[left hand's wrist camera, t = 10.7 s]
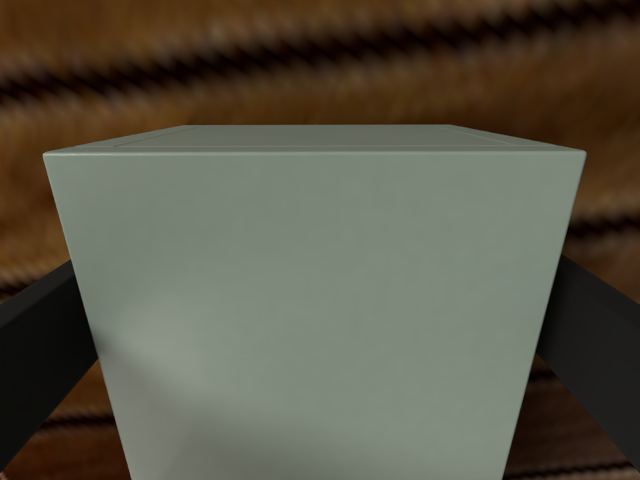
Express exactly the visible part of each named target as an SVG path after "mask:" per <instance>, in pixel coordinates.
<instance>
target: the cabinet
mask: <svg viewBox="0 0 640 480" xmlns="http://www.w3.org/2000/svg"><path fill="white" fill-rule="evenodd" d="M586 156H587V153H586V152H585V151H583V150H578V149H573V148H568V147H563V146H556V145H553V144H548V143H543V142H537V141H532V140H527V139H522V138H517V137H511V136H506V135H501V134H496V133H491V132H485V131H480V130H475V129H470V128H465V127H459V126H454V125H183V126H178V127H172V128H167V129H162V130H157V131H151V132H146V133H141V134H136V135H131V136H126V137H120V138H115V139H110V140H105V141H100V142H94V143H89V144H84V145H79V146H75V147H69V148H64V149H59V150H54V151H48V152H45V153H44V154H43V159H44V163H45V166H46V170H47V173H48V177H49V181H50V184H51V188H52V192H53V195H54V199H55V202H56V206H57V210H58V213H59V217H60V221H61V224H62V228H63V231H64V235H65V239H66V242H67V246H68V250H69V253H70V257H71V261H72V264H73V268H74V271H75V275H76V279H77V282H78V286H79V290H80V293H81V297H82V300H83V304H84V308H85V311H86V315H87V319H88V322H89V326H90V329H91V333H92V337H93V340H94V344H95V348H96V351H97V355H98V359H99V362H100V366H101V369H102V373H103V377H104V380H105V384H106V388H107V391H108V395H109V398H110V402H111V406H112V409H113V413H114V417H115V420H116V424H117V427H118V431H119V435H120V438H121V442H122V446H123V449H124V453H125V457H126V460H127V464H128V467H129V471H130V475H131V478H132V480H502V478H503V474H504V470H505V466H506V462H507V458H508V455H509V451H510V447H511V443H512V439H513V436H514V432H515V428H516V424H517V420H518V416H519V413H520V409H521V405H522V401H523V397H524V393H525V390H526V386H527V382H528V378H529V374H530V370H531V367H532V363H533V359H534V355H535V351H536V347H537V344H538V340H539V336H540V332H541V328H542V324H543V321H544V317H545V313H546V309H547V305H548V301H549V298H550V294H551V290H552V286H553V282H554V278H555V275H556V271H557V267H558V263H559V259H560V255H561V252H562V248H563V244H564V240H565V236H566V232H567V229H568V225H569V221H570V217H571V213H572V209H573V206H574V202H575V198H576V194H577V190H578V186H579V183H580V179H581V175H582V171H583V167H584V163H585V160H586Z"/></svg>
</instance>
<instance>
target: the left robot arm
mask: <svg viewBox="0 0 640 480" xmlns="http://www.w3.org/2000/svg"><path fill="white" fill-rule="evenodd" d="M536 352H537V353H538V355H539V356H540V357H541V358H542V359H543V360H544V362H545V363H546V364H547V365H548V366H549V367H550V369H551V370H552V371H553V372H554V373H555V374H556V376H557V377H558V378H559V379H560V380H561V381H562V383H563V384H564V385H565V386H566V387H567V389H568V390H569V391H570V392H571V393H572V394H573V396H574V397H575V398H576V399H577V400H578V401H579V403H580V404H581V405H582V406H583V407H584V408H585V410H586V411H587V412H588V413H589V414H590V415H591V417H592V418H593V419H594V420H595V421H596V422H597V424H598V425H599V426H600V427H601V428H602V429H603V431H604V432H605V433H606V434H607V435H608V436H609V438H610V439H611V440H612V441H613V442H614V444H615V445H616V446H617V447H618V448H619V449H620V451H621V452H622V453H623V454H624V455H625V456H626V458H627V459H628V460H629V461H630V462H631V463H632V465H633V466H634V467H635V468H636V469H637V470H638V472H639V473H640V305H639V304H638V303H636V302H635V301H633V300H632V299H630V298H629V297H627V296H626V295H624V294H622V293H621V292H619V291H618V290H616V289H615V288H613V287H612V286H610V285H608V284H607V283H605V282H604V281H602V280H601V279H599V278H598V277H596V276H594V275H593V274H591V273H590V272H588V271H587V270H585V269H584V268H582V267H580V266H579V265H577V264H576V263H574V262H573V261H571V260H570V259H568V258H566V257H565V256H563V255H562V254H561V255H560V259H559V263H558V267H557V271H556V275H555V278H554V282H553V286H552V290H551V294H550V298H549V301H548V305H547V309H546V313H545V317H544V321H543V324H542V328H541V332H540V336H539V340H538V344H537V347H536ZM97 359H98V355H97V351H96V348H95V344H94V340H93V337H92V333H91V329H90V326H89V322H88V319H87V315H86V311H85V308H84V304H83V300H82V297H81V293H80V290H79V286H78V282H77V279H76V275H75V271H74V268H73V264H72V261H71V259H70V260H69V261H67V262H66V263H64V264H63V265H61V266H60V267H58V268H56V269H55V270H53V271H52V272H50V273H49V274H47V275H46V276H44V277H42V278H41V279H39V280H38V281H36V282H35V283H33V284H32V285H30V286H28V287H27V288H25V289H24V290H22V291H21V292H19V293H18V294H16V295H14V296H13V297H11V298H10V299H8V300H7V301H5V302H4V303H2V304H1V305H0V473H1V472H2V470H3V469H4V468H5V467H6V466H7V465H8V463H9V462H10V461H11V460H12V459H13V458H14V456H15V455H16V454H17V453H18V452H19V451H20V449H21V448H22V447H23V446H24V445H25V444H26V442H27V441H28V440H29V439H30V438H31V436H32V435H33V434H34V433H35V432H36V431H37V429H38V428H39V427H40V426H41V425H42V424H43V422H44V421H45V420H46V419H47V418H48V417H49V415H50V414H51V413H52V412H53V411H54V410H55V408H56V407H57V406H58V405H59V404H60V403H61V401H62V400H63V399H64V398H65V397H66V396H67V394H68V393H69V392H70V391H71V390H72V389H73V387H74V386H75V385H76V384H77V383H78V381H79V380H80V379H81V378H82V377H83V376H84V374H85V373H86V372H87V371H88V370H89V369H90V367H91V366H92V365H93V364H94V363H95V362H96V360H97Z"/></svg>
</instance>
